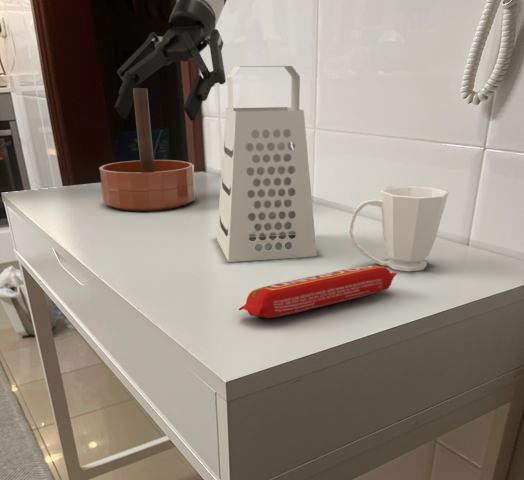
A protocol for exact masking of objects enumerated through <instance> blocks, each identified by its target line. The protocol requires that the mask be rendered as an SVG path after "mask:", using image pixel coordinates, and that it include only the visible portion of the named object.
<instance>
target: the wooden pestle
mask: <svg viewBox="0 0 524 480" xmlns="http://www.w3.org/2000/svg"><path fill="white" fill-rule="evenodd" d="M133 95H134V102H133V104H134V114H135V124H136V134H137V135H136V136H137V144H138V155H139V160H140V165H141V172H155V170H154V160H155V159H154V150H153V149H154V148H153V139H152V138H153V137H152V127H151V116H150V115H151V114H150V103H149V92H148V88H147V87H139V88H133Z"/></svg>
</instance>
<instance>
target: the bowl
mask: <svg viewBox="0 0 524 480" xmlns="http://www.w3.org/2000/svg"><path fill="white" fill-rule="evenodd" d="M154 170H155V172H141V165H140V159H139V160H128V161H127V160H126V161H118V162H112V163H107V164H103V165H102V166H100V167H98V171H99V179H100V185H101V186H100V187H101V194H102V201H103V203H104V205H107V206H110V207H112V208H114V209H117V210H120V211H121V210H122V211H129V212H153V211H165V210H170V209H171V210H173V209H176V208H180V207H183V206H186V205H188V204H189V203H191V202H193V201H195V199H196V184H195V183H196V182H195V165H194V163H192V162H188V161H183V160H173V159H154Z"/></svg>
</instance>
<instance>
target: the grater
mask: <svg viewBox="0 0 524 480" xmlns="http://www.w3.org/2000/svg"><path fill="white" fill-rule="evenodd" d="M260 67H261V68H266V67H268V68H273V67H275V68H276V67H277V68H278V67H281V68H284V69H285V70H286V71H287V73H288V74H289V75H290V77H291V78H290V79H291V80H290V84H291V85H290V89H291V90H290V107H289V106H276V107H275V106H274V107H273V106H272V107H234V89H233V77H234V76H235V74H236V73H237V71H238V70H239V69H240V68H260ZM226 82H227V85H226V87H227V107H226V108H225V115H224V116H225V117H224V127H223V129H224V130H223V146H222V157H221V159H222V160H221V173H220V186H219V199H218V211H217V212H218V213H217V227H216V241H217V243H218V244H219V247H220V249H221V251H222V253H223V255H224V257H225V259H226V261H227V262H228V263H238V262H239V263H240V262H252V261H253V262H254V261H265V260H267V261H268V260H280V259H281V260H282V259H283V260H284V259H296V258H297V259H298V258H310V257H311V258H312V257H318V253H317V242H316V232H315V220H314V209H313V199H312V197H313V196H312V187H311V176H310V164H309V154H308V153H309V152H308V142H307V132H306V122H305V110H304V109H300V94H301V93H300V92H301V91H300V90H301V89H300V88H301V86H300V85H301V76H300V75H299V73H298V72H297V71H296V69H295V68H294V67H293V65H239V66H234V68H233V69H232V70H231V71H230V73H229V74H228V75H227V77H226ZM290 235H294V237H293V238H291V237H290ZM271 236H275V238H274V239H271V238H270V237H271ZM280 236H285V237H284V238H280ZM254 237H255V240H251V239H250V238H254ZM260 237H265V239H263V240H261V239H260ZM278 243H280V244H281V248H280V249H277V248H276V245H277V244H278ZM286 243H290V244H291V247H290V248H286V246H285V245H286ZM258 244H259V245H261V247H262V248H261V250H257V249H256V246H257V245H258ZM266 244H270V245H271V249H269V250H267V249H266Z"/></svg>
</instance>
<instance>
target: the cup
mask: <svg viewBox="0 0 524 480" xmlns="http://www.w3.org/2000/svg"><path fill="white" fill-rule="evenodd" d="M379 192H380V199H378V198H377V199H367V200H365V201H363V202H361V203H360V204H359V205H358V206H357V207H356V208H355V209H354V211H353V213H352V217H351V219H350V225H349V232H348V233H349V237H350V240H351V243H352V244H353V246H354V247H355V248H356V250H357V251H358V252H360V253H361V254H362V255H363V256H365V257H366V258H367V259H369V260H370V261H371V262H372V263H373V262H374V263H375V264H378V265H379V266H383V267H388V268H390V269H393V270H395V271H401V272H417V271H423V270H424V269H425V268H426V267H427V265H428V263H427V262H426V261H425V260H426V259H428V257H429V255H430V253H431V250H432V248H433V246H434V243H435V240H436V238H437V235H438V231H439V227H440V224H441V220H442V217H443V214H444V209H445V207H446V203H447V199H448V196H449V191H447V190H443V189H440V188H437V187H433V186H421V185H419V186H418V185H400V186H398V185H397V186H388V187H386V188H383V189H382V190H380V191H379ZM366 206H374V207H379V208H381V209H380V210H381V222H382V224H381V225H382V238H383V243H384V249H385V255H386V256H387V257H389V259H388V260H381V259H379V258H377V257H375V256H373V255H372V254H370V253H369V252H367V251H366V250H365V249H364V248H362V246H360V245H359V244H358V242H357V241H356V240H355V237H354V235H353V230H354V224H355V222H356V218H357V216H358V214H359V213H360V212H361V211H362V209H363V208H364V207H366Z"/></svg>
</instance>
